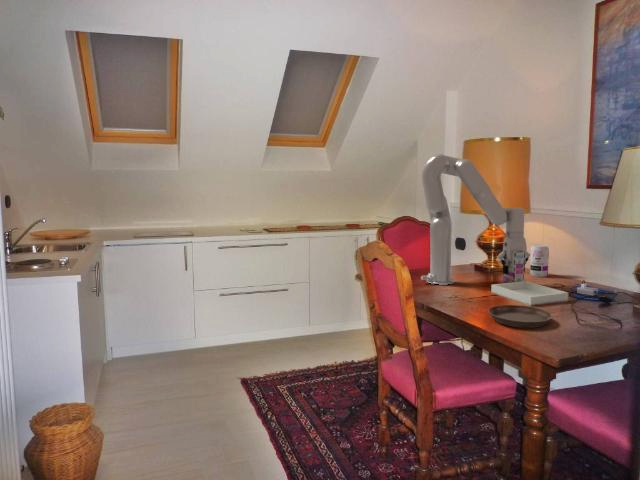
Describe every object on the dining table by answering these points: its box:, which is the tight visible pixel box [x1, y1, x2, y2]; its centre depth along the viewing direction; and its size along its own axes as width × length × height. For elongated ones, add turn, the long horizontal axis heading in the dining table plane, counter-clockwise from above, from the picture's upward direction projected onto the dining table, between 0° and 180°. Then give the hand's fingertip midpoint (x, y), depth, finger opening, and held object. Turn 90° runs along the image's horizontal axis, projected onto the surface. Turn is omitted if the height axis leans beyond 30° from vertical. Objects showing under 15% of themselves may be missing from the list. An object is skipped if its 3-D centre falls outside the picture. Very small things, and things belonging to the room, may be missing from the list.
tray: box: [490, 280, 569, 307], centre depth 211 cm, size 18×24×4 cm
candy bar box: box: [502, 251, 526, 284], centre depth 231 cm, size 11×5×16 cm, turn 5°
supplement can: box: [529, 244, 550, 278], centre depth 251 cm, size 8×8×15 cm
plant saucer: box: [488, 304, 553, 329], centre depth 178 cm, size 21×21×3 cm
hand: (513, 273), depth 232 cm, fingers open, 8 cm apart
